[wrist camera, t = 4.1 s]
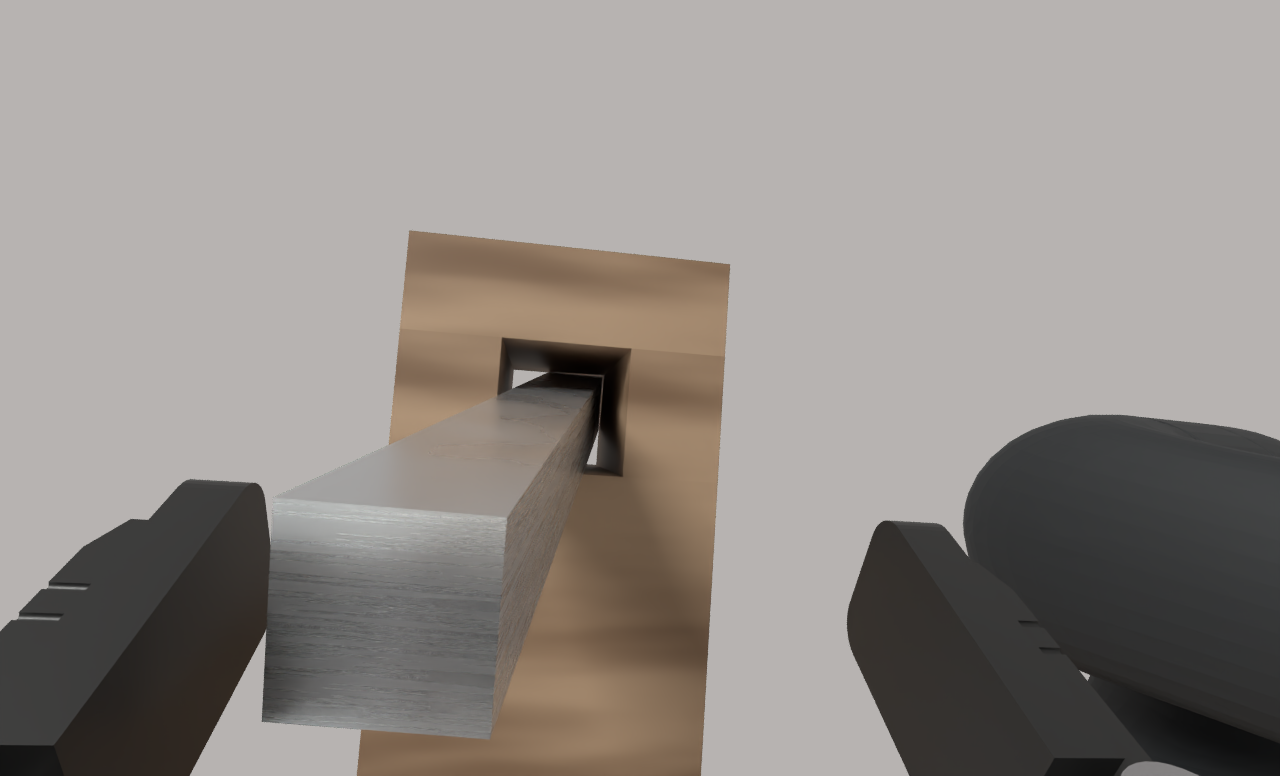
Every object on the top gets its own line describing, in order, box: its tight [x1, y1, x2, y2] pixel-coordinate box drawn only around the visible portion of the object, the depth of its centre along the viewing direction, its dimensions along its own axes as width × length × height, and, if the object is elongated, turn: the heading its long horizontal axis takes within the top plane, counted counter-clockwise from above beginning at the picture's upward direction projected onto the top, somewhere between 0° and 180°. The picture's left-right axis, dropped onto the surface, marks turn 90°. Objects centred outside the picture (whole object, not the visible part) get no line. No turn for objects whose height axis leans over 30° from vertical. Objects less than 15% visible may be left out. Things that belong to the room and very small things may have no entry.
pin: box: [262, 372, 603, 739], centre depth 19 cm, size 24×2×2 cm, turn 1°
